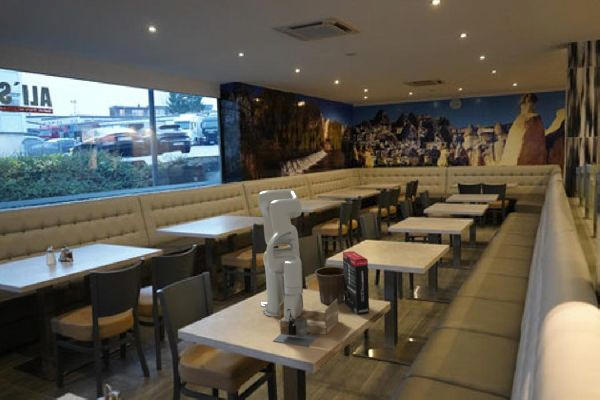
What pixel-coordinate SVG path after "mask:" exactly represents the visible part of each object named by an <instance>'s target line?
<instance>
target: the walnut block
mask: <svg viewBox="0 0 600 400" xmlns="http://www.w3.org/2000/svg"><path fill="white" fill-rule="evenodd" d="M291 318H293V317H291ZM279 320H280V319H279ZM290 320H291V319H290ZM291 321H292V322H293V320H291ZM295 325H296V335H291V336H298V337H303V336H304V335H307V334H308V332H307V319H305V318H295ZM279 328H280V329H279V331H280V334H284V335H290V334H289V331H288V323H287V322H286V318H284V317H283V318H282V319H281V320H280V322H279Z"/></svg>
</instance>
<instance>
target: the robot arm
mask: <svg viewBox="0 0 600 400" xmlns="http://www.w3.org/2000/svg"><path fill="white" fill-rule="evenodd" d="M257 205H258V207H259V210H260V213H261V215H262V219H263V233H264V234H263V235H264V241H265V244H266V250H265V251H264V253H263V256H262V259H263V264H264V271H265V282H266V283H265V284H266V302H265V301H261V303H260V308H264V315H266V316H268V317H274V318H275V317H279V318H280V311H279V305H280V304H281V303H282V302H284V318H286V322H287V323H288V331H289V334H290V335H296V325H295V318H302V316H301V315H302V312H303V309H304V298H303V297H304V296H303V294H304V288H303V265H302V264H303V263H302V260H301V258H300V245H299V235H298V234H299V233H298V230H297V227H296V226H294V224H292V221H291V218H295V217H297V218H298V217H300V216H301V215H302V212H303V211H302V207H303V206H302V203H301V201H300V198H299V197H298V195H297V194H296V192H295V191H294V190H293V189H292V188H291V189H289V188H288V189H287V188H285V189H269V190H263V191H261V192H259V193H258V195H257ZM285 245H287V247H278V248H274V247H276V246H285ZM291 316H292V317H293V318H291ZM290 319H291V320H293V322H292V321H291V320H290Z"/></svg>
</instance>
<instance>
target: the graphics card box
mask: <svg viewBox="0 0 600 400" xmlns="http://www.w3.org/2000/svg"><path fill="white" fill-rule="evenodd" d="M368 264H369V261H368V259H367V258H366V257H364V256H362V255H361V254H359V253H357V252H356V251H353V250H352V251H350V250H349V251H342V268H343V273H344V305H346V306H347V307H348V308H349V309H350V310H351V311H352V312H353V313H354V314H355V315H357V316H358V315H359V316H360V315H367V314H370V299H369V298H370V294H369V290H370V289H369V265H368Z"/></svg>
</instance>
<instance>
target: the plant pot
mask: <svg viewBox="0 0 600 400" xmlns="http://www.w3.org/2000/svg"><path fill="white" fill-rule="evenodd" d="M314 274H316V281H317V284H318V291H319V300H320V303H321V304H323V305H327V306H330V305H331V304H332V303H333V302H334V301H335V300H336V299H338V305H340V304H342V303H345V299H344V273H343V267H338V266H326V267H321V268H318V269H316V270H315V271H314Z"/></svg>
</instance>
